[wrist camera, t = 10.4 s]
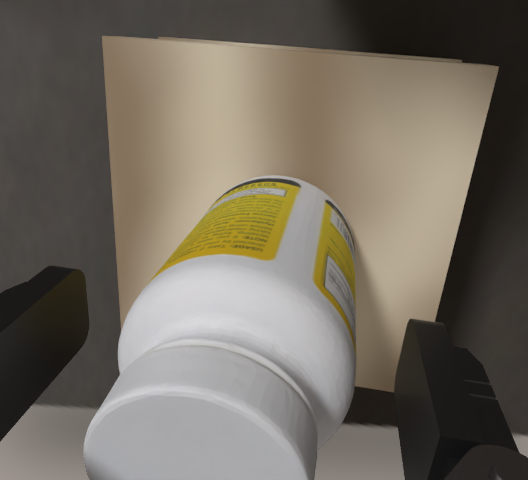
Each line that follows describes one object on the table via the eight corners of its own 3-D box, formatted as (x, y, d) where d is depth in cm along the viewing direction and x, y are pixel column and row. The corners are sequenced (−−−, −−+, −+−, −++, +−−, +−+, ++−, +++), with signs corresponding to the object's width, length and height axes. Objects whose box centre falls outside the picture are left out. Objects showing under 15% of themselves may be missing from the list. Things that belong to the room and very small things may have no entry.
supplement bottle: (179, 263, 18) (3, 489, 9) (250, 140, 15) (108, 278, 6) (301, 337, 18) (250, 627, 9) (388, 228, 16) (433, 473, 7)
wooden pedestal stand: (171, 280, 25) (122, 347, 20) (168, 37, 20) (102, 35, 15) (400, 314, 24) (415, 395, 18) (455, 59, 19) (499, 66, 13)
